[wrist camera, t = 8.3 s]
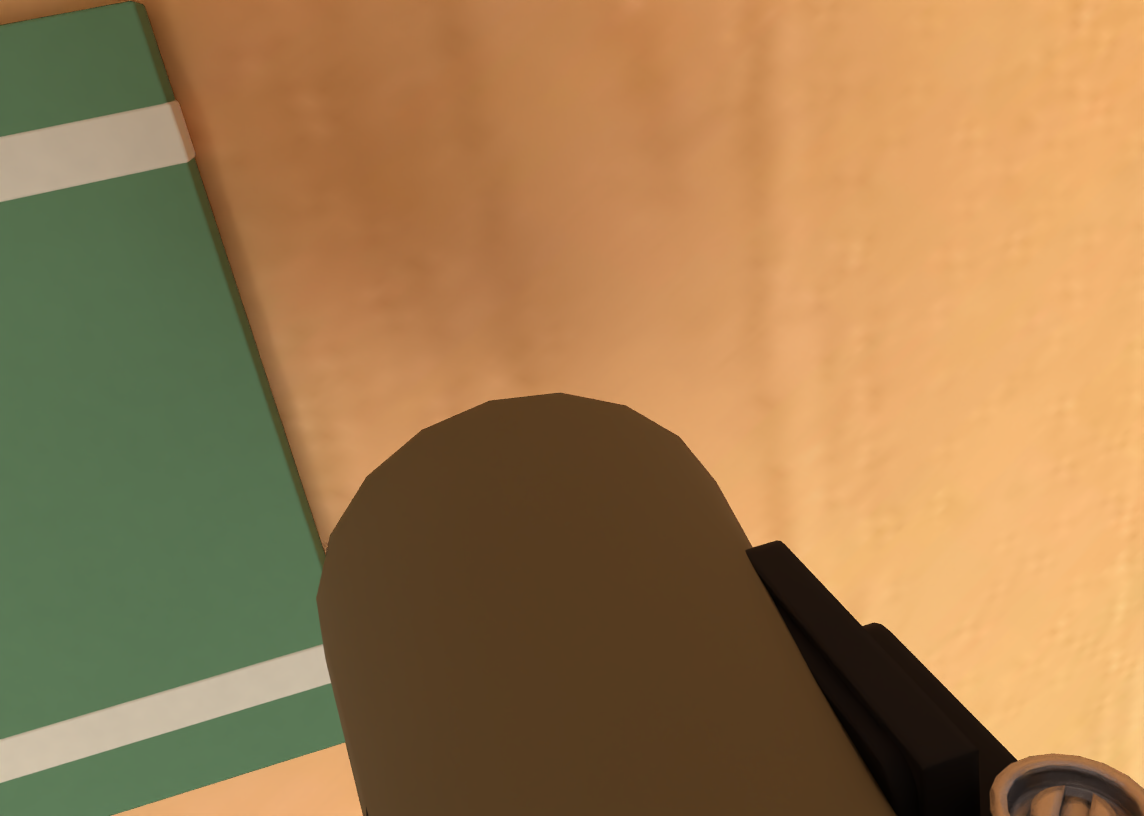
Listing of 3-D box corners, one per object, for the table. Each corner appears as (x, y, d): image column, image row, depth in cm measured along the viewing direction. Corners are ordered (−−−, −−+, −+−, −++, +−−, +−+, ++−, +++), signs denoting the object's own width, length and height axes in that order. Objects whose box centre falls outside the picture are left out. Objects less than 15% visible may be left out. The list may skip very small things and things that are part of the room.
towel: (-530, 129, 18) (-587, 133, 17) (146, 2, 20) (135, -1, 18) (-93, 849, 24) (-113, 888, 23) (376, 704, 26) (379, 733, 25)
